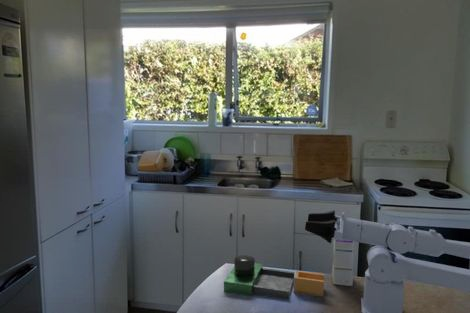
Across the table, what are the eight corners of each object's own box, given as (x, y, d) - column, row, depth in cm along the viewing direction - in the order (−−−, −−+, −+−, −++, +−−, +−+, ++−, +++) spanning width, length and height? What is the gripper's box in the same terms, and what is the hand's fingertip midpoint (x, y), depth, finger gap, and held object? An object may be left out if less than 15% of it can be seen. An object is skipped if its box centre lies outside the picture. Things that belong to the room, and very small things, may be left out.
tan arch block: (323, 289, 110) (324, 274, 109) (322, 297, 105) (323, 281, 105) (296, 285, 112) (296, 270, 112) (293, 292, 107) (294, 277, 107)
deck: (294, 277, 117) (295, 255, 116) (287, 301, 102) (288, 276, 102) (237, 269, 122) (238, 248, 121) (223, 291, 107) (224, 267, 106)
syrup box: (352, 286, 112) (355, 238, 110) (332, 284, 113) (334, 237, 111) (351, 278, 117) (353, 232, 115) (331, 276, 118) (333, 231, 116)
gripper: (361, 208, 104) (311, 200, 108) (363, 224, 90) (306, 214, 94) (357, 233, 105) (307, 224, 109) (359, 252, 91) (302, 241, 95)
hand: (306, 221), depth 101 cm, fingers open, 7 cm apart
